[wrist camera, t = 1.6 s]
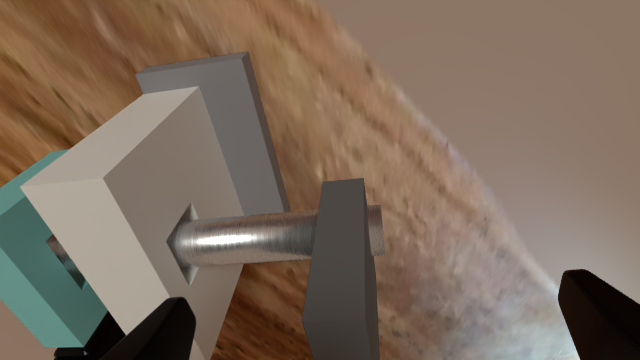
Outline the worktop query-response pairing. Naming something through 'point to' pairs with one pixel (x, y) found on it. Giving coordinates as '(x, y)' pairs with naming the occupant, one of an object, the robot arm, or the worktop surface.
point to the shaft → (301, 244)
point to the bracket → (164, 189)
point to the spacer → (41, 272)
